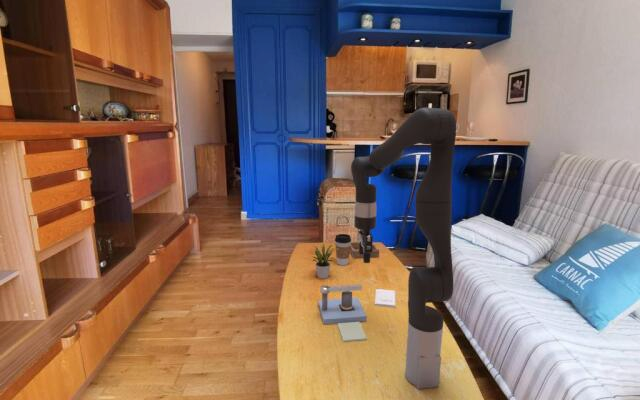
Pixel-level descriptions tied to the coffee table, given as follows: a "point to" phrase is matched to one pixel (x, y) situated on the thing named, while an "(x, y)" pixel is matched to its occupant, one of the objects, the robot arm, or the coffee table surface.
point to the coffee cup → (342, 248)
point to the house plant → (323, 261)
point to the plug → (346, 301)
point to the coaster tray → (356, 254)
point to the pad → (351, 331)
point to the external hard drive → (385, 298)
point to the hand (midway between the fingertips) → (364, 258)
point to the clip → (340, 288)
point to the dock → (333, 311)
